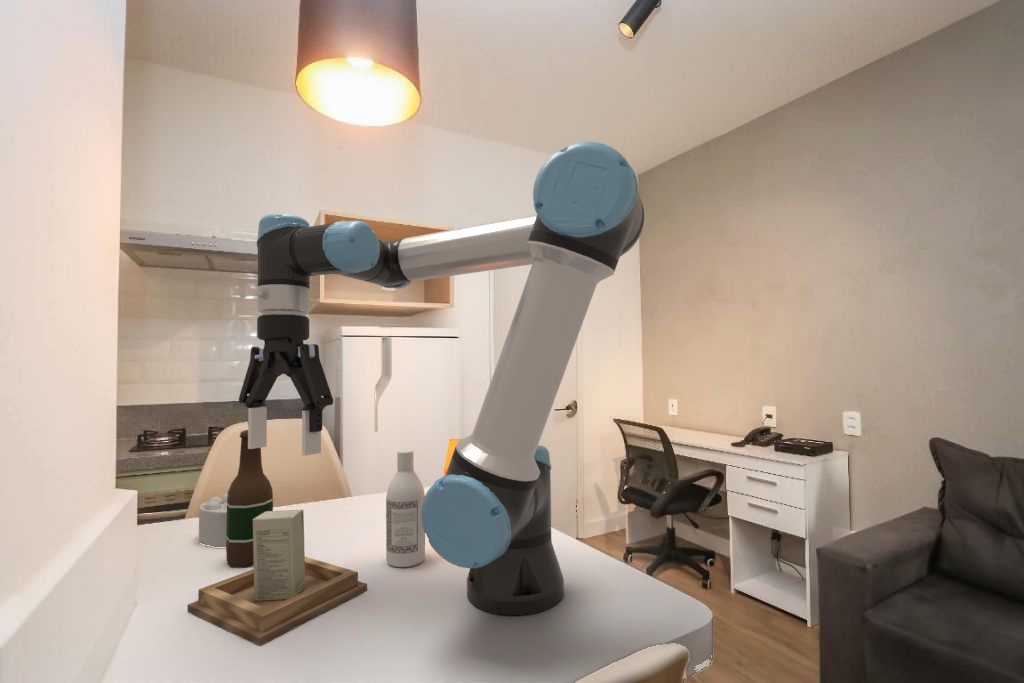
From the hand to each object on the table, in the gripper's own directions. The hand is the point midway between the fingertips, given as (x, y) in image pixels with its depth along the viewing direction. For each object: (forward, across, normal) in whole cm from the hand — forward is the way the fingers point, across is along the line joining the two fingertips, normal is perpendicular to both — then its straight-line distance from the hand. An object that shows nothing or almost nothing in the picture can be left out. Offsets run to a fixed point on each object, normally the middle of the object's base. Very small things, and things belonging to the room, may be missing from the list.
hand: (283, 451), depth 77 cm
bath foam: (+23, +6, +21) cm, 32 cm away
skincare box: (+22, 0, 0) cm, 22 cm away
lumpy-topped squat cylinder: (+23, -36, +12) cm, 44 cm away
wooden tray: (+23, 0, 0) cm, 23 cm away
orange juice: (+23, +8, +38) cm, 45 cm away
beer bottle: (+23, -20, +7) cm, 31 cm away
